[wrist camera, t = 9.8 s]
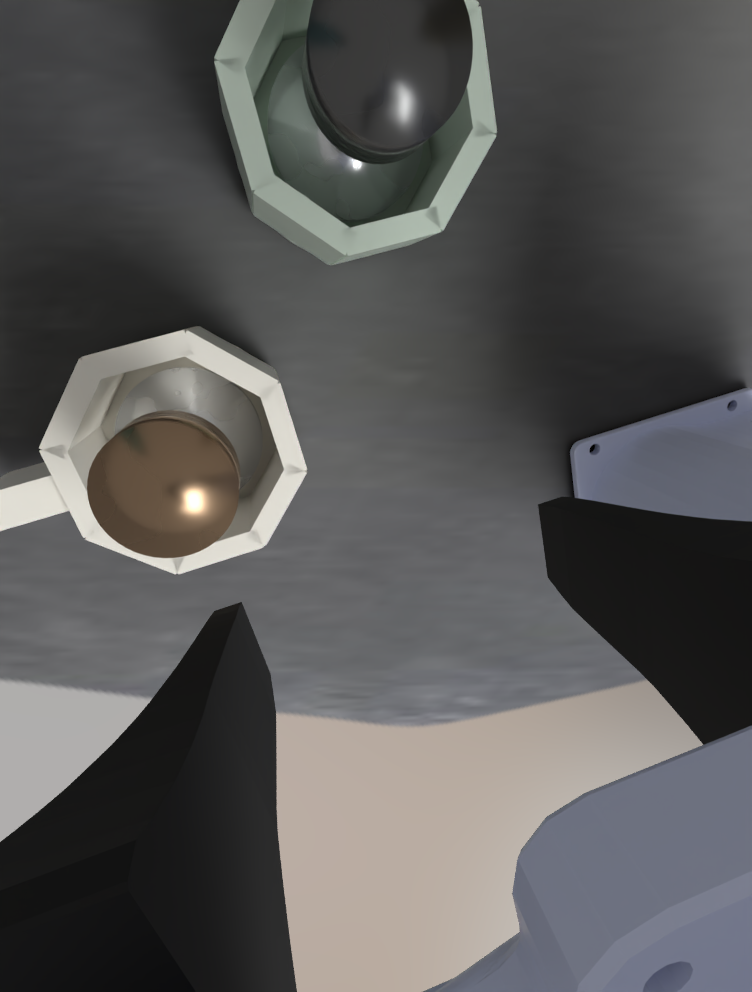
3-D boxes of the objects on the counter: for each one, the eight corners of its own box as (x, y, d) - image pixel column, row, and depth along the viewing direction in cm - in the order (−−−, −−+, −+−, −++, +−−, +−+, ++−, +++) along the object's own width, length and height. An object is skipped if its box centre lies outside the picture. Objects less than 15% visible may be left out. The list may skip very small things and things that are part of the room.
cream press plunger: (236, 349, 19) (228, 369, 13) (279, 478, 21) (290, 548, 15) (94, 388, 18) (15, 428, 12) (151, 517, 20) (107, 606, 14)
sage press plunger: (400, 28, 17) (482, -131, 11) (431, 203, 18) (516, 153, 12) (245, 60, 16) (239, -88, 10) (293, 238, 18) (313, 202, 12)
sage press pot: (457, 233, 20) (507, 215, 16) (271, 281, 19) (275, 274, 15) (401, -115, 16) (447, -249, 12) (166, -74, 15) (137, -203, 11)
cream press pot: (256, 309, 19) (257, 310, 15) (312, 488, 22) (325, 528, 18) (-23, 383, 18) (-99, 403, 14) (72, 563, 21) (30, 621, 17)
